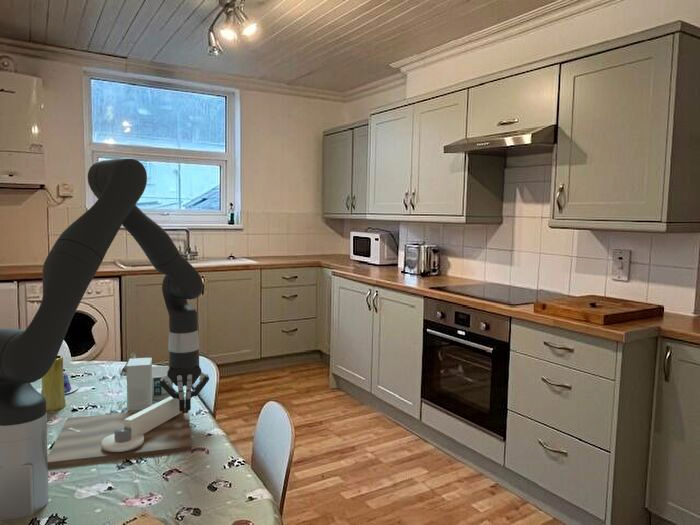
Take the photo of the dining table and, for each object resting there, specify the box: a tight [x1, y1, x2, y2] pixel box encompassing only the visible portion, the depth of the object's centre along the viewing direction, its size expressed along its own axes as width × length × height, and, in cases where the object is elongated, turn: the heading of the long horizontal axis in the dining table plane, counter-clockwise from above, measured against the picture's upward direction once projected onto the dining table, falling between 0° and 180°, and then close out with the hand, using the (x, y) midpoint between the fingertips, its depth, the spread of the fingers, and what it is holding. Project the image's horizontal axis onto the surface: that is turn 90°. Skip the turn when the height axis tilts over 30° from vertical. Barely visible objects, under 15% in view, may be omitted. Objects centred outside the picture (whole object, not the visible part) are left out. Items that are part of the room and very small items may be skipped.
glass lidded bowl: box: [120, 351, 137, 376], centre depth 184 cm, size 9×9×8 cm
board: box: [48, 411, 193, 469], centre depth 130 cm, size 26×30×2 cm
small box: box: [126, 357, 153, 412], centre depth 151 cm, size 8×6×13 cm
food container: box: [152, 365, 174, 397], centre depth 163 cm, size 12×12×6 cm
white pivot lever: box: [102, 395, 182, 452], centre depth 130 cm, size 26×9×5 cm, turn 162°
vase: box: [41, 354, 66, 412], centre depth 148 cm, size 6×6×14 cm
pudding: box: [35, 372, 79, 395], centre depth 162 cm, size 12×12×5 cm
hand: (185, 412), depth 139 cm, fingers closed
